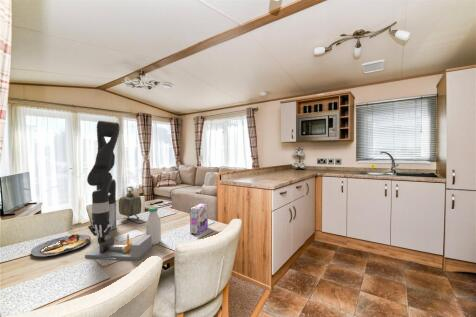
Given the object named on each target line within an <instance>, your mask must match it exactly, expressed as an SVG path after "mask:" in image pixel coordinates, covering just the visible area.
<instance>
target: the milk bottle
mask: <svg viewBox="0 0 476 317" xmlns="http://www.w3.org/2000/svg"><path fill="white" fill-rule="evenodd" d="M158 210H159V208H158V207H157V206H151V207H149V208H148V212H149V214H148V217H147V219H146V226H145V229H146V230H145V233H146V234H145V235H151V238H152V246H154V245H157V244H160V243H161V241H162V231H161V230H162V229H161V228H162V226H161V218H160V216H159V214H158ZM159 242H160V243H159Z"/></svg>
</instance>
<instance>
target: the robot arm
mask: <svg viewBox="0 0 476 317" xmlns="http://www.w3.org/2000/svg"><path fill="white" fill-rule="evenodd" d="M119 134H120V124H119V123H118V122H115V121H109V120H101V119H99V120H98V121H97V124H96V138H97V153H96V157H95V161H94V165H93V166H92V168H91V170H90V171H89V173H88V174H87V179H86V181H87V184H88V185H89V186H91V187H92V186H93V187H96V190H94V191H92V193H91V201H92V203H91V221H92V222H91V223H92V224H91V225H89V226H88V227H87V228H88V229H89V231H90V232H91V233H92V236H93V237H94V236H95V237H97V244H99V242H101V241H103V240H105V239H106V236H108V235H109V234H110V233H111V231H113V230H115V229H116V228H117V197H116V193H117V192H116V191H117V183H116V182H117V181H116V180H115V179H114V178H113V175H112V173H111V170H112V169H113V168H114V167H115V163H116V160H115V159H116V155H115V152H114V150H115V147H116V144H117V142H118V138H119ZM106 138H110V139H109V141H108V142H107V140H106Z"/></svg>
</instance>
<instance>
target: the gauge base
mask: <svg viewBox="0 0 476 317" xmlns="http://www.w3.org/2000/svg"><path fill="white" fill-rule="evenodd" d="M114 245H117V244H116V243H114ZM152 247H153V245H152V238H151V235H146V234H144V235H142V236H141V237H140V238H138V239H137V240H136V241H134V242H132V244H131V249H130V250H129V251H127V252H126V253H125V252H122V251H116V250H107V251H106V252H104V253H100V246H97V247H95V248H93V249H92V250H90V251H89V252H87V253H86V254H84V258H86V259H100V258H116V259H115V260H117V259H121V261H135V262H138V261H141V259H143V257H145V256H146V255H148V253H149V252H150V251H152Z"/></svg>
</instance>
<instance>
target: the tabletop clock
mask: <svg viewBox="0 0 476 317" xmlns="http://www.w3.org/2000/svg"><path fill="white" fill-rule="evenodd" d="M128 189H132V191H131V190H128ZM126 192H127V193H126V195H125V196H121V197H120V198H119V199H118V213H119V214H120V215H121V216H125V217H127V218H126V221H129V218H130V217H132V216H135V217H136V219H137V220H139V219H140V217H139V216H137V215H139V214H141V213H142V198H141V196H140V195H135V194H134V193H133V192H134V188H133V187H132V186H127V187H126Z"/></svg>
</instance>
